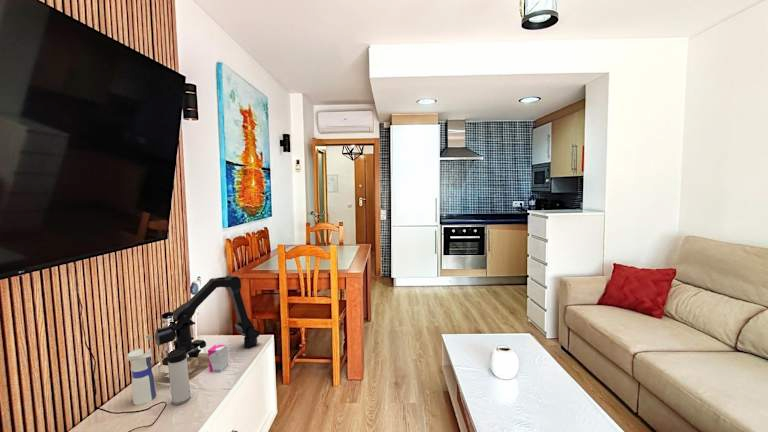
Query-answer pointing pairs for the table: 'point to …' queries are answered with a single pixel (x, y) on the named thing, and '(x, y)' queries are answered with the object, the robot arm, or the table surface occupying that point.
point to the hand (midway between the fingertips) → (187, 370)
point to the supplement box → (218, 358)
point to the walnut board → (200, 364)
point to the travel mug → (179, 376)
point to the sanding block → (192, 364)
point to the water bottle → (142, 376)
